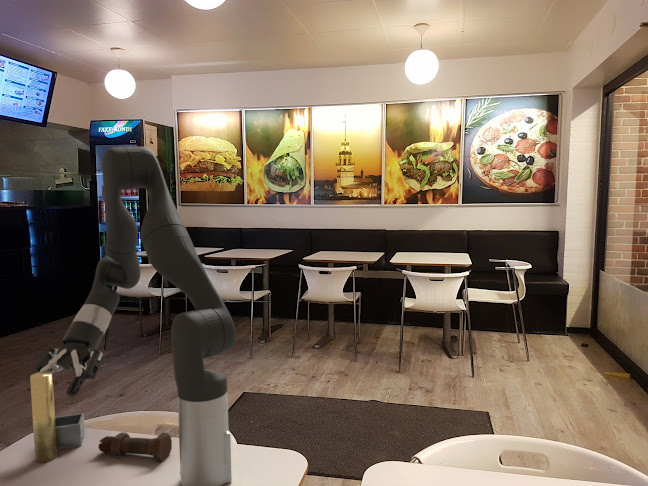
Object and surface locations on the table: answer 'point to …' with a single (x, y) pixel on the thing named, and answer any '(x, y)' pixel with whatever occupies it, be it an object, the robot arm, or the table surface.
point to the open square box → (69, 431)
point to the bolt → (137, 446)
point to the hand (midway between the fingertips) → (53, 393)
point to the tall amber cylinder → (43, 416)
